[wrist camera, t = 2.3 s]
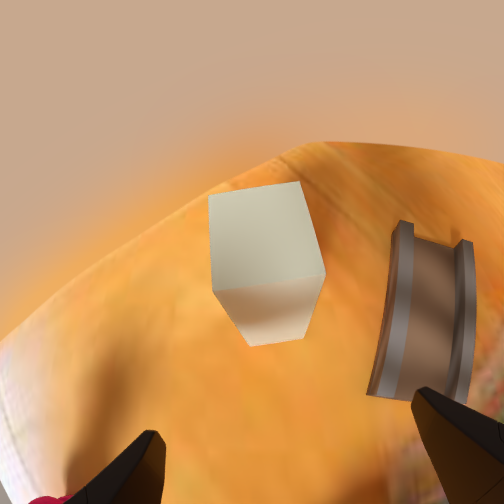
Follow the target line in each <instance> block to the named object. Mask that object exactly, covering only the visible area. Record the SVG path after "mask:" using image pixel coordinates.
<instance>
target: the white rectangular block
mask: <svg viewBox="0 0 504 504" xmlns="http://www.w3.org/2000/svg"><path fill="white" fill-rule="evenodd" d="M208 203H209V233H210V255H211V274H212V290H213V293H214V294H215V296H216V297H217V299H218V300H219V302H220V303H221V305H222V306H223V308H224V309H225V311H226V312H227V314H228V315H229V317H230V318H231V320H232V321H233V323H234V324H235V326H236V327H237V329H238V330H239V332H240V333H241V334H242V336H243V337H244V339H245V340H246V342H247V343H248V344H249V346H258V345H265V344H271V343H278V342H284V341H290V340H296V339H302V338H304V335H305V333H306V330H307V327H308V325H309V322H310V319H311V316H312V314H313V311H314V308H315V305H316V302H317V300H318V297H319V294H320V291H321V288H322V285H323V282H324V279H325V276H326V271H325V267H324V263H323V260H322V256H321V252H320V248H319V245H318V241H317V238H316V234H315V231H314V227H313V224H312V220H311V217H310V214H309V210H308V207H307V204H306V200H305V197H304V194H303V191H302V188H301V184H300V181H297V182H289V183H282V184H275V185H268V186H261V187H255V188H248V189H242V190H236V191H230V192H225V193H219V194H213V195H208Z"/></svg>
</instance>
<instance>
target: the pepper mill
mask: <svg viewBox="0 0 504 504" xmlns="http://www.w3.org/2000/svg"><path fill="white" fill-rule="evenodd" d="M72 496H73V495H68V496H64V497H60V498H58V499H56V498H54V497H50V496H43V497H39V498H36V499H34V500H33V501H31V502H30V503H29V504H62V503H64V502H65V501H67V500H68V499H69V498H71V497H72Z"/></svg>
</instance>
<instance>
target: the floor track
mask: <svg viewBox="0 0 504 504" xmlns="http://www.w3.org/2000/svg"><path fill="white" fill-rule="evenodd" d="M475 335H476V273H475V260H474V250H473V242H470V241H467V240H464V239H462V240H461V241H460V242H459V243H458V245H457V246H456V247H455V248H454V249H453V248H450V247H447V246H443V245H440V244H437V243H434V242H430V241H427V240H423V239H420V238H417V237H414V224H413V223H410V222H406V221H403V220H400V221H399V223H398V225H397V227H396V229H395V230H394V231H393V233H392V240H391V255H390V266H389V276H388V285H387V293H386V301H385V308H384V314H383V320H382V326H381V332H380V337H379V342H378V347H377V352H376V357H375V361H374V366H373V370H372V374H371V378H370V382H369V386H368V390H367V393H366V395H369V396H375V397H382V398H388V399H395V400H403V401H412V400H413V396H414V393H415V391H416V390H417V389H419V388H421V387H424V386H427V387H429V388H431V389H433V390H435V391H437V392H439V393H441V394H443V395H445V396H447V397H449V398H451V399H453V400H455V401H457V402H459V403H461V404H466V402H467V397H468V392H469V386H470V380H471V374H472V366H473V358H474V348H475Z"/></svg>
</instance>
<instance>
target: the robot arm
mask: <svg viewBox="0 0 504 504" xmlns="http://www.w3.org/2000/svg"><path fill="white" fill-rule="evenodd" d="M411 410H412V413H413V416H414V419H415V422H416V424H417V427H418V430H419V433H420V436H421V439H422V442H423V444H424V446H425V449H426V451H427V453H428V455H429V457H430V459H431V462H432V464H433V466H434V468H435V470H436V473H437V475H438V477H439V480H440V482H441V484H442V487H443V489H444V492H445V494H446V496H447V499H448V501H449V504H504V424H502V423H500V422H497V421H496V420H494V419H492V418H489V417H487V416H485V415H483V414H481V413H479V412H477V411H475V410H473V409H471V408H469V407H467V406H465V405H463V404H461V403H459V402H457V401H455V400H453V399H451V398H449V397H447V396H445V395H443V394H441V393H439V392H437V391H435V390H433V389H431V388H429V387H427V386H424V387H421V388H419V389H417V390H416V391H415V393H414V396H413V400H412V403H411ZM165 459H166V444H165V442H164V441H163V439H162V438H161V436H160V434H159V433H158V432H157V431H156V430H145V431H144V432H143V433H141V434H140V435H139V436H138V437H137V438H136V439H135V440H134V441H133V442H132V443H131V444H130V445H129V446H128V447H127V448H126V449H125V450H124V451H123V452H122V453H121V454H120V455H119V456H117V457H116V458H115V459H114V460H113V461H112V462H111V463H110V464H109V465H108V466H107V467H106V468H104V469H103V470H102V471H101V472H100V473H99V474H98V475H97V476H96V477H94V478H93V479H92V480H91V481H90V482H89V483H88V484H87V485H86V486H84V487H83V488H82V489H81V490H80V491H78V492H77V493H76V494H75V495H73V496H72V497H71V498H69V499H68V500H67V501H65V502H64V503H62V504H161V499H162V493H163V487H164V479H165Z"/></svg>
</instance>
